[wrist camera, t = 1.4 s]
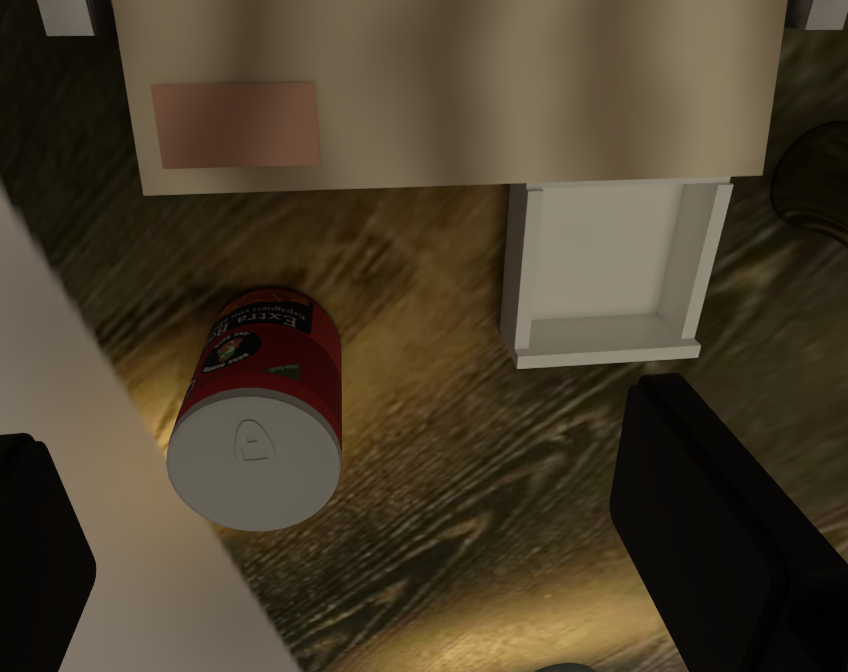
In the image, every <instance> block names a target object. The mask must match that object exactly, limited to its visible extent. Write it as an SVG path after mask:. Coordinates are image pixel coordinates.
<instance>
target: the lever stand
mask: <svg viewBox="0 0 848 672" xmlns="http://www.w3.org/2000/svg"><path fill="white" fill-rule="evenodd" d="M37 1H38V5H39V9H40V12H41V16H42V20H43V23H44V27H45V30H46V34H47V36H94V35H98V34H103V33H107V32H112V31H116V30H117V28H116V22H115V16H114V10H113V7H112V4H111V0H37ZM847 12H848V0H788V1H787V8H786V15H785V22H784V28H793V29H802V30H842V28H843V25H844V22H845V18H846V15H847Z"/></svg>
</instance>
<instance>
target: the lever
mask: <svg viewBox="0 0 848 672" xmlns="http://www.w3.org/2000/svg"><path fill="white" fill-rule="evenodd" d="M787 1H788V0H111V4H112V7H113V10H114V16H115V22H116V28H117V35H118V41H119V47H120V53H121V59H122V66H123V72H124V78H125V84H126V90H127V96H128V103H129V109H130V115H131V121H132V127H133V133H134V140H135V146H136V152H137V158H138V164H139V171H140V177H141V183H142V189H143V195H144V196H148V195H179V194H209V193H240V192H270V191H301V190H331V189H362V188H393V187H423V186H454V185H484V184H515V183H546V182H576V181H607V180H637V179H668V178H698V177H729V176H760V175H763V168H764V161H765V154H766V147H767V140H768V133H769V126H770V119H771V112H772V105H773V98H774V91H775V84H776V77H777V70H778V64H779V57H780V50H781V43H782V36H783V29H784V22H785V15H786V8H787Z"/></svg>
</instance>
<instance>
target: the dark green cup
mask: <svg viewBox="0 0 848 672" xmlns="http://www.w3.org/2000/svg"><path fill="white" fill-rule="evenodd" d="M536 672H595V671H594V670H593V669H591V668H590V667H588V666H585V665H581V664H574V663H565V664H557V665H552V666H549V667H545V668H543V669H540V670H537V671H536Z"/></svg>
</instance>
